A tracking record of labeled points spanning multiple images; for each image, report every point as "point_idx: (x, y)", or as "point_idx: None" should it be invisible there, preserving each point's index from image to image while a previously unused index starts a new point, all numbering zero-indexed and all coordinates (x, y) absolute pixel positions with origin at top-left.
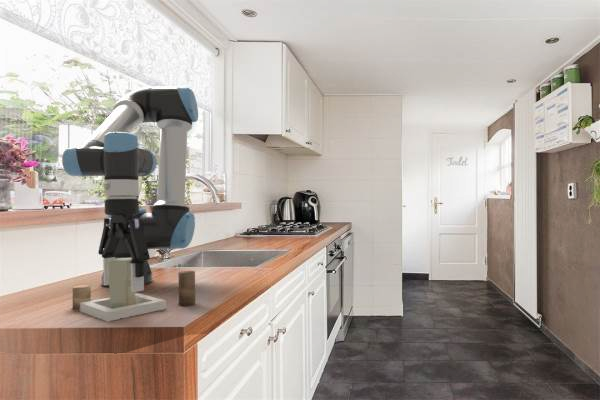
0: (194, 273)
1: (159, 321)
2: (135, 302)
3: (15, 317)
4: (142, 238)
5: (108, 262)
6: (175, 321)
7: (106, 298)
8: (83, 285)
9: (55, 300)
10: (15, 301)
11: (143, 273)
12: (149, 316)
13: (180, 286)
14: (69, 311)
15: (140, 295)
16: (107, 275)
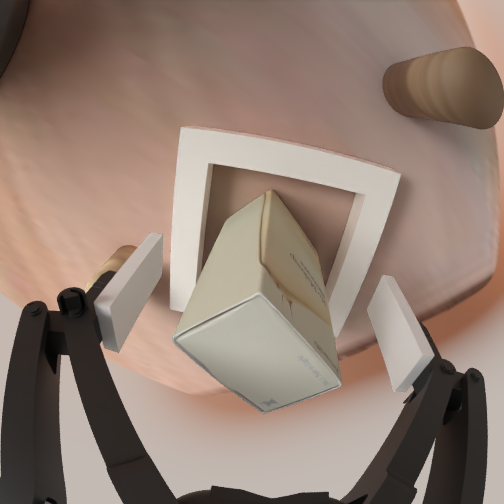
0: (497, 82)
1: (444, 269)
2: (273, 193)
3: (127, 360)
4: (477, 462)
5: (124, 322)
6: (473, 254)
7: (177, 244)
8: (88, 284)
9: (29, 250)
10: (7, 287)
11: (427, 332)
12: (400, 250)
13: (439, 120)
14: (155, 303)
15: (242, 150)
16: (148, 287)
